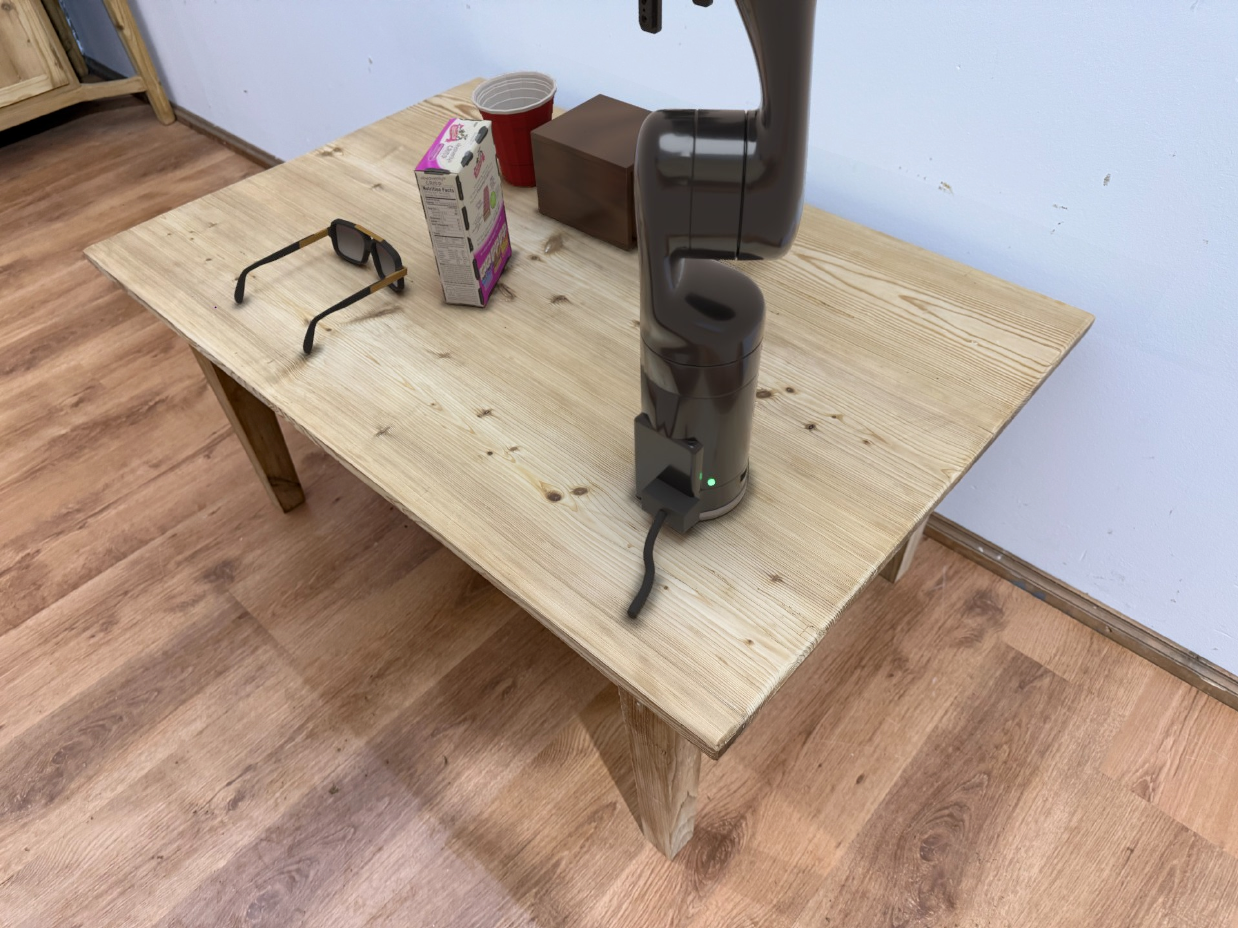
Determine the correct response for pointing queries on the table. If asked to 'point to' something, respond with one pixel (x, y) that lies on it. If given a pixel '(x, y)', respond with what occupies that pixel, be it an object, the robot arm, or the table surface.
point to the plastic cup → (516, 118)
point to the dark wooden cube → (589, 167)
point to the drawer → (633, 209)
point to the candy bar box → (465, 210)
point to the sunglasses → (352, 247)
